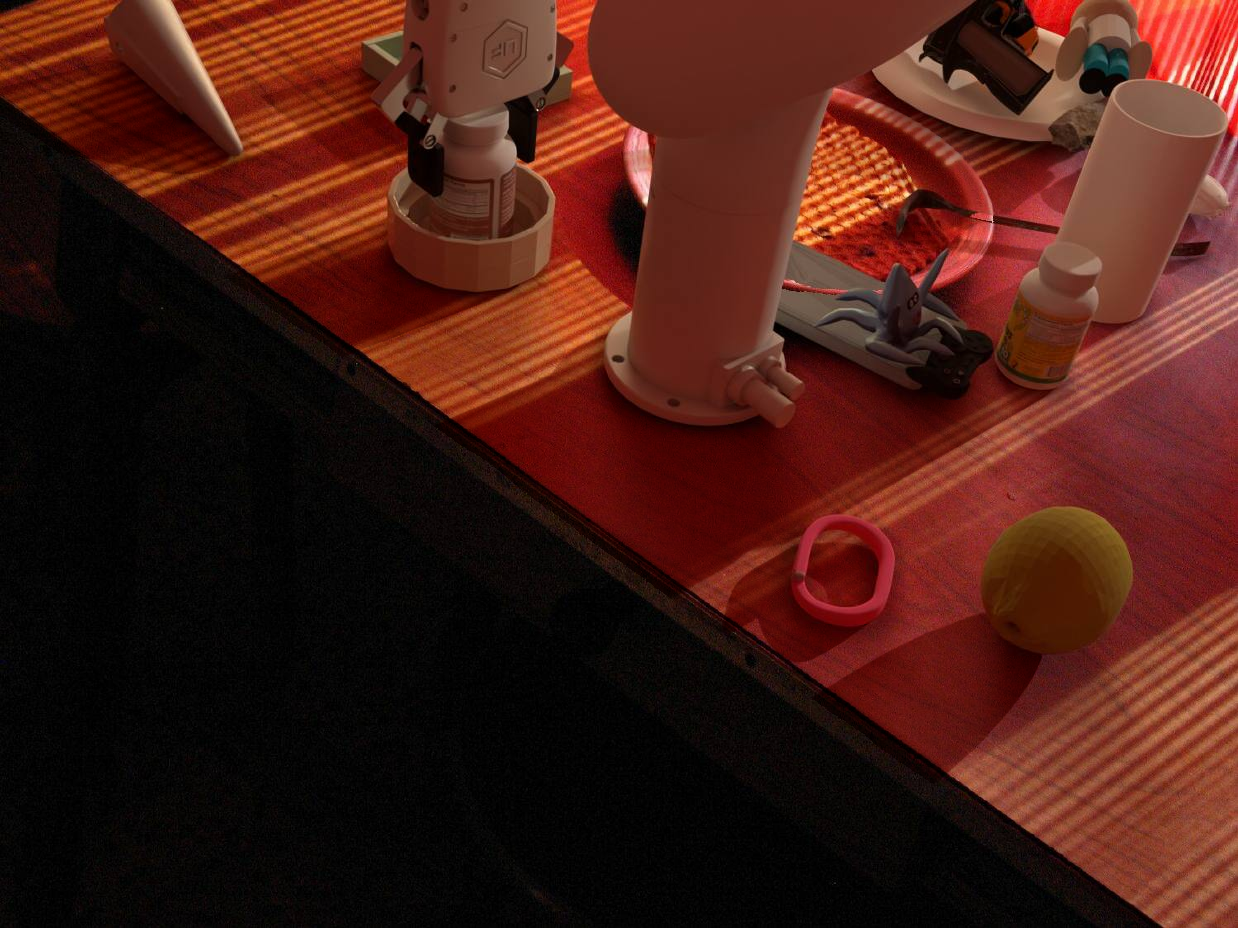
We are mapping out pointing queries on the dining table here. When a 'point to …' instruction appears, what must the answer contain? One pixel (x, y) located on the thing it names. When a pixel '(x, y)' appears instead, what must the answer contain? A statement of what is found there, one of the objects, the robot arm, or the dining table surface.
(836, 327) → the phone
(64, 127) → the dining table surface
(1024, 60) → the handgun
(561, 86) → the tray
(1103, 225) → the cup
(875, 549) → the fitness band
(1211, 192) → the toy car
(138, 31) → the long tapered cone
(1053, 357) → the supplement bottle
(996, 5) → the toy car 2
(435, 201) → the pill bottle
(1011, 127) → the plate
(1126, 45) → the toy
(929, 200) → the crowbar
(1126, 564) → the lemon
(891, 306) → the figurine
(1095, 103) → the stone
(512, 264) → the bowl
